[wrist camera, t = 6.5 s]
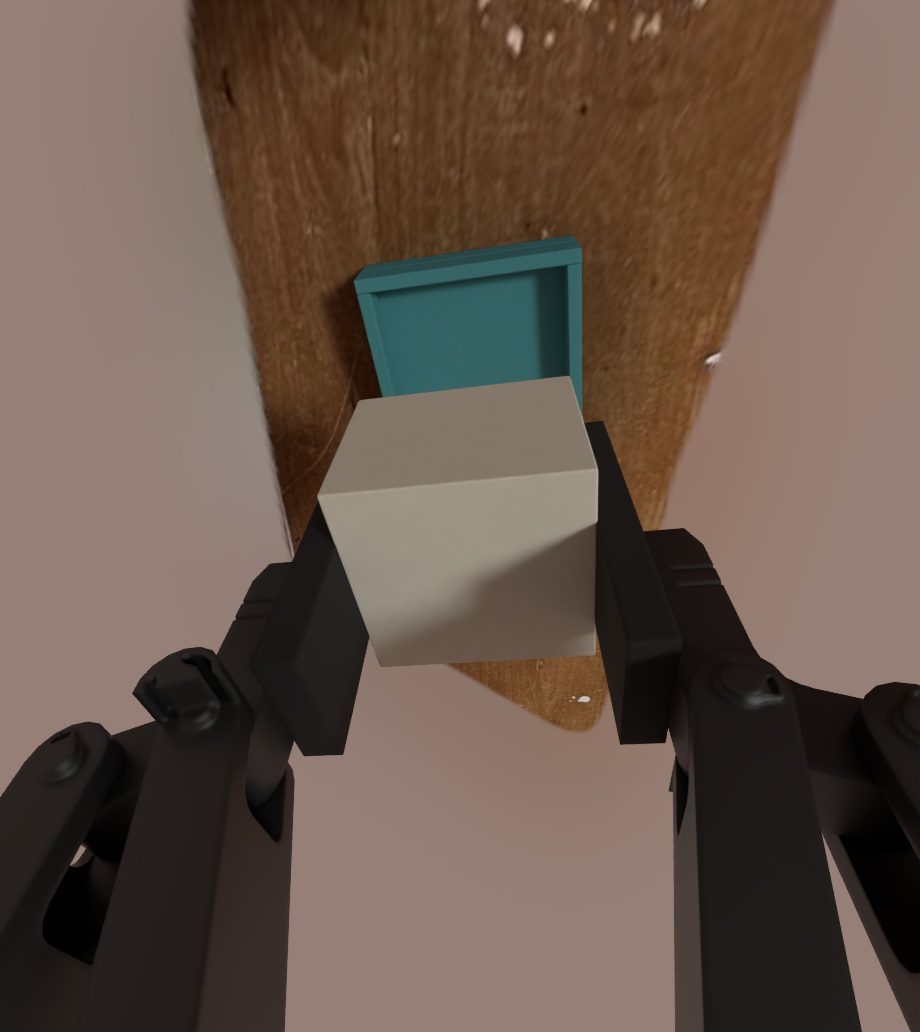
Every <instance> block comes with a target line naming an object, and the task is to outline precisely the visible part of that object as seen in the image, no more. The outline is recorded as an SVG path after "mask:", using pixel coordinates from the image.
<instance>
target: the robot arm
mask: <svg viewBox="0 0 920 1032" xmlns="http://www.w3.org/2000/svg"><path fill="white" fill-rule="evenodd" d="M584 425H585V428H586V431H587V434H588V438H589V441H590V444H591V448H592V451H593V454H594V457H595V461H596V464H597V467H598V521H597V522H596V572H595V625H596V630H597V635H598V640H599V644H600V649H601V654H602V659H603V664H604V669H605V673H606V678H607V683H608V688H609V693H610V698H611V702H612V707H613V712H614V717H615V722H616V726H617V731H618V736H619V741H620V744H621V745H622V744H649V743H650V744H651V743H665V742H666V737H667V731H668V728H669V732H670V735H671V738H672V742H673V746H674V749H675V753H676V756H675V761H674V766H673V771H672V777H671V782H670V787H669V791H670V792H673V825H674V826H673V831H674V941H675V942H674V945H675V947H674V951H675V953H674V954H675V1032H862V1030H861V1025H860V1020H859V1015H858V1010H857V1005H856V1000H855V995H854V991H853V985H852V981H851V975H850V971H849V966H848V961H847V956H846V951H845V946H844V941H843V936H842V931H841V926H840V921H839V916H838V911H837V906H836V901H835V897H834V892H833V887H832V882H831V877H830V872H829V867H828V862H827V857H826V852H825V847H824V843H823V837H822V834H823V836H824V838H825V840H826V843H827V845H828V847H829V850H830V852H831V854H832V856H833V859H834V861H835V863H836V865H837V867H838V870H839V872H840V874H841V876H842V878H843V881H844V883H845V885H846V888H847V890H848V892H849V894H850V897H851V899H852V901H853V903H854V906H855V908H856V910H857V912H858V914H859V917H860V919H861V921H862V924H863V926H864V928H865V930H866V933H867V935H868V937H869V939H870V942H871V944H872V946H873V948H874V950H875V953H876V955H877V957H878V959H879V962H880V964H881V966H882V968H883V971H884V973H885V975H886V977H887V980H888V982H889V984H890V986H891V989H892V991H893V993H894V995H895V998H896V1000H897V1002H898V1004H899V1006H900V1009H901V1011H902V1013H903V1015H904V1018H905V1020H906V1022H907V1024H908V1026H909V1029H910V1031H911V1032H920V685H917V684H909V683H900V682H892V683H887V684H883V685H878V686H876V687H874V688H873V689H872V690H871V691H870V692H869V693H868V694H866V695H865V697H864V699H861V698H856V697H851V696H847V695H842V694H838V693H833V692H828V691H824V690H819V689H814V688H811V687H808V686H805V685H801V684H798V683H796V682H794V681H792V680H790V679H788V678H786V677H785V676H784V675H782V673H781V672H780V671H779V670H778V669H777V668H776V667H775V666H774V665H773V664H771V663H769V662H768V661H766V660H764V659H762V658H760V656H759V655H758V653H757V652H756V650H755V649H754V647H753V645H752V643H751V641H750V639H749V637H748V635H747V633H746V631H745V629H744V627H743V625H742V623H741V621H740V619H739V617H738V615H737V612H736V610H735V608H734V606H733V604H732V602H731V600H730V599H729V596H728V594H727V592H726V590H725V588H724V586H723V585H721V580H720V578H719V576H718V574H717V572H716V570H715V568H713V564H712V561H711V559H710V557H709V555H708V553H707V551H706V549H705V547H704V545H703V544H702V543H701V542H700V541H698V540H697V539H696V538H695V537H694V536H693V535H691V534H690V533H689V532H688V531H687V530H685V529H684V528H680V529H668V530H655V531H643V529H642V527H641V524H640V521H639V518H638V516H637V513H636V510H635V507H634V505H633V502H632V499H631V496H630V494H629V491H628V488H627V485H626V483H625V480H624V477H623V474H622V472H621V469H620V466H619V463H618V461H617V458H616V455H615V452H614V450H613V447H612V444H611V441H610V439H609V436H608V433H607V430H606V428H605V425H604V422H603V421H597V422H588V423H584ZM243 601H244V604H242V605H241V606H240V608H239V610H238V612H237V615H236V620H234V621H233V623H232V625H231V627H230V629H229V631H228V633H227V635H226V637H225V639H224V641H223V643H222V645H221V647H220V649H219V651H218V653H217V655H216V654H215V653H214V652H213V651H212V650H209V649H206V648H202V647H195V648H187V649H183V650H180V651H178V652H175V653H173V654H170V655H168V656H167V657H165V658H164V659H162V660H161V661H159V662H158V663H156V664H155V665H153V666H152V667H151V668H150V669H149V670H148V671H147V673H145V674H144V675H143V677H142V678H141V679H140V680H139V682H138V684H137V686H136V687H135V689H134V691H133V693H132V694H133V695H134V696H135V697H136V698H137V700H138V701H139V702H140V703H141V704H142V705H143V706H144V707H145V709H146V710H147V711H148V712H149V713H150V714H151V716H152V717H153V718H154V719H155V721H153V722H150V723H147V724H144V725H141V726H138V727H135V728H132V729H129V730H127V731H124V732H121V733H118V734H115V735H111V734H110V733H109V732H108V731H107V730H106V729H104V727H103V726H102V725H101V724H99V723H93V722H83V723H79V724H75V725H71V726H69V727H67V728H65V729H63V730H61V731H59V732H57V733H56V734H54V735H53V736H51V737H50V738H49V739H47V740H46V741H45V742H44V743H42V744H41V745H40V746H38V748H37V749H36V750H35V751H34V752H33V753H32V754H31V756H30V757H29V758H28V759H27V760H26V761H25V762H24V764H23V765H22V767H21V768H20V770H19V771H18V773H17V774H16V775H15V777H14V778H13V780H12V781H11V783H10V784H9V786H8V787H7V789H6V790H5V792H4V793H3V794H2V796H1V797H0V1032H285V1008H286V1006H285V1005H286V982H287V958H288V957H287V956H288V931H289V907H290V882H291V857H292V855H291V854H292V831H293V806H294V776H293V770H292V768H291V766H290V765H289V763H288V759H289V756H290V752H291V749H292V746H293V743H294V741H295V742H296V744H297V746H298V747H299V749H300V751H301V752H302V754H303V755H304V756H322V755H343V753H344V749H345V744H346V740H347V735H348V731H349V726H350V721H351V717H352V713H353V708H354V704H355V699H356V694H357V689H358V685H359V681H360V676H361V672H362V667H363V662H364V658H365V654H366V649H367V645H368V640H369V633H368V631H367V628H366V625H365V623H364V620H363V617H362V615H361V612H360V609H359V607H358V604H357V601H356V599H355V596H354V593H353V590H352V588H351V585H350V582H349V580H348V577H347V574H346V572H345V569H344V566H343V564H342V561H341V558H340V556H339V553H338V550H337V548H336V545H335V544H334V541H333V539H332V536H331V533H330V531H329V528H328V525H327V523H326V520H325V517H324V515H323V512H322V509H321V507H320V504H319V501H318V502H317V505H316V507H315V509H314V512H313V514H312V516H311V519H310V521H309V523H308V526H307V528H306V530H305V533H304V535H303V538H302V540H301V542H300V545H299V547H298V549H297V552H296V554H295V556H294V559H293V561H292V562H285V563H274V564H273V563H272V564H269V565H268V566H267V568H265V569H264V570H263V571H262V572H261V573H260V575H259V576H257V578H256V579H255V580H254V581H253V582H252V584H251V586H250V588H249V590H248V592H247V594H246V596H245V598H244V600H243ZM80 845H82V846H83V847H85V848H86V849H85V851H84V853H83V854H82V856H81V857H80V859H79V860H78V861H77V862H76V863H74V864H73V865H71V866H70V864H71V862H72V860H73V858H74V856H75V854H76V853H77V851H78V849H79V847H80Z"/></svg>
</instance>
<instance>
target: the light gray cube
mask: <svg viewBox="0 0 920 1032" xmlns="http://www.w3.org/2000/svg"><path fill="white" fill-rule="evenodd" d="M317 499H318V501H319V504H320V507H321V509H322V512H323V515H324V517H325V520H326V523H327V525H328V528H329V531H330V533H331V536H332V539H333V541H334V544H335V545H336V548H337V550H338V553H339V556H340V558H341V561H342V564H343V566H344V569H345V572H346V574H347V577H348V580H349V582H350V585H351V588H352V590H353V593H354V596H355V599H356V601H357V604H358V607H359V609H360V612H361V615H362V617H363V620H364V623H365V625H366V628H367V631H368V633H369V638H370V640H371V643H372V646H373V648H374V651H375V654H376V656H377V659H378V662H379V664H380V666H381V667H391V666H408V665H426V664H445V663H463V662H481V661H499V660H517V659H535V658H553V657H571V656H589V655H595V648H596V625H595V572H596V522H597V521H598V467H597V464H596V461H595V457H594V454H593V451H592V448H591V444H590V441H589V438H588V434H587V431H586V428H585V425H584V421H583V418H582V415H581V411H580V408H579V405H578V401H577V398H576V395H575V392H574V388H573V385H572V382H571V378H570V376H562V377H554V378H545V379H537V380H528V381H520V382H511V383H503V384H494V385H485V386H477V387H468V388H460V389H451V390H443V391H434V392H426V393H417V394H409V395H400V396H392V397H383V398H375V399H366V400H360V401H358V404H357V406H356V408H355V410H354V413H353V415H352V417H351V420H350V422H349V424H348V426H347V429H346V431H345V433H344V436H343V438H342V440H341V442H340V445H339V447H338V449H337V452H336V454H335V456H334V458H333V461H332V463H331V465H330V467H329V470H328V472H327V474H326V477H325V479H324V481H323V483H322V486H321V488H320V490H319V493H318V495H317Z"/></svg>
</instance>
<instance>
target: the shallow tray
mask: <svg viewBox="0 0 920 1032" xmlns="http://www.w3.org/2000/svg"><path fill="white" fill-rule="evenodd" d="M581 261H582V254H581V247H580V245H579V244H578V242H577V241H576V240H575V238H574V237H573V236H572V235H570V236H563V237H556V238H550V239H543V240H536V241H529V242H523V243H516V244H509V245H502V246H496V247H489V248H482V249H475V250H469V251H462V252H455V253H448V254H442V255H435V256H428V257H421V258H415V259H408V260H401V261H394V262H388V263H381V264H374V265H367V266H365V267H364V268H363V269H362V271H361V272H360V273H359V274H358V275H357V277H356V278H355V280H354V286H355V290H356V293H357V294H358V295H357V298H358V302H359V306H360V310H361V314H362V318H363V322H364V326H365V330H366V334H367V338H368V342H369V346H370V350H371V353H372V357H373V361H374V365H375V369H376V373H377V377H378V381H379V385H380V389H381V393H382V397H392V396H400V395H409V394H417V393H426V392H434V391H443V390H451V389H460V388H468V387H477V386H485V385H494V384H503V383H511V382H520V381H528V380H537V379H545V378H554V377H562V376H570V378H571V382H572V385H573V388H574V392H575V395H576V398H577V401H578V405H579V408H580V411H581V415H582V265H581Z"/></svg>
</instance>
